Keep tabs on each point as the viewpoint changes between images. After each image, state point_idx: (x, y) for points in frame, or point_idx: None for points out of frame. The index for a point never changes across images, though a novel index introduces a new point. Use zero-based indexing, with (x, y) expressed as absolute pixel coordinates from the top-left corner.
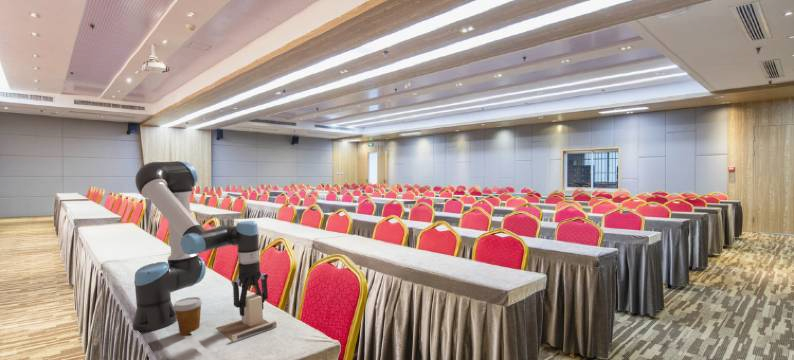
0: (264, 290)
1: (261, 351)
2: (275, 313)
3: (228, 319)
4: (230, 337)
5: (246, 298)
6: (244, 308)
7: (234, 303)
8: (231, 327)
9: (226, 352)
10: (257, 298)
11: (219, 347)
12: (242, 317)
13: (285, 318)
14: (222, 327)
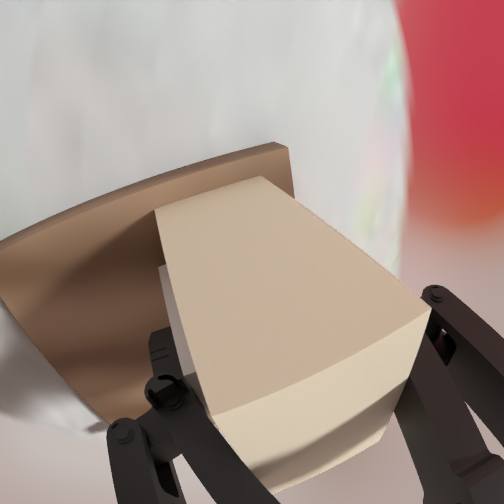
0: (462, 396)
1: None
2: (385, 130)
3: (68, 28)
4: (101, 406)
5: (265, 479)
6: (205, 408)
7: (120, 462)
8: (82, 304)
9: (103, 439)
10: (343, 457)
11: (66, 410)
12: (164, 296)
13: (387, 237)
14: (21, 277)
